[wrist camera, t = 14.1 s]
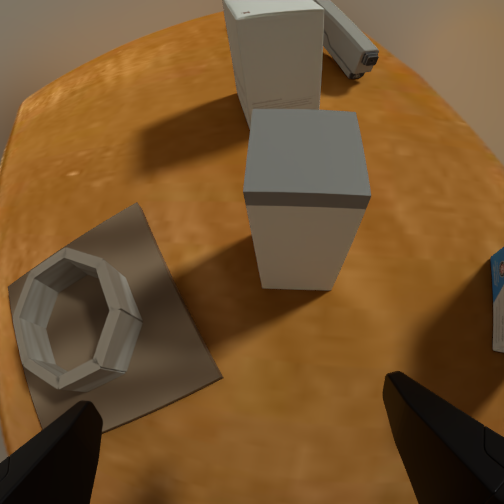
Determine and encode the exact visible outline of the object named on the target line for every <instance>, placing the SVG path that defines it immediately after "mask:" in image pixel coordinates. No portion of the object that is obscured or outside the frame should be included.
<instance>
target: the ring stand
mask: <svg viewBox="0 0 504 504" xmlns="http://www.w3.org/2000/svg"><path fill="white" fill-rule="evenodd" d="M8 291H9V299H10V305H11V312H12V318H13V324H14V329H15V334H16V339H17V344H18V348H19V353H20V357H21V361H22V365H23V369H24V373H25V376H26V380H27V383H28V387H29V390H30V393H31V397H32V400H33V403H34V406H35V409H36V412H37V415H38V418H39V420H40V423H41V426H42V428H43V429H44V428H46V427H47V426H48V425H49V424H51V423H52V422H53V421H54V420H56V419H57V418H58V417H60V416H61V415H62V414H63V413H65V412H66V411H67V410H68V409H70V408H71V407H72V406H73V405H75V404H76V403H77V402H79V401H81V400H85V401H91V402H92V403H93V404H94V405H95V407H96V409H97V410H98V412H99V413H100V415H101V417H102V419H103V428H102V434H103V433H105V432H108V431H110V430H113V429H115V428H117V427H120V426H122V425H125V424H127V423H129V422H132V421H134V420H136V419H139V418H141V417H143V416H146V415H148V414H150V413H152V412H154V411H157V410H159V409H161V408H163V407H165V406H168V405H170V404H172V403H174V402H176V401H178V400H180V399H182V398H184V397H186V396H189V395H191V394H193V393H195V392H197V391H199V390H201V389H203V388H205V387H207V386H209V385H211V384H213V383H214V382H216V381H218V380H220V379H222V378H223V376H222V374H221V372H220V371H219V369H218V367H217V365H216V363H215V361H214V359H213V358H212V356H211V354H210V352H209V350H208V348H207V346H206V344H205V343H204V341H203V339H202V337H201V335H200V333H199V331H198V329H197V327H196V325H195V323H194V321H193V319H192V317H191V315H190V313H189V311H188V309H187V307H186V305H185V303H184V301H183V299H182V297H181V295H180V293H179V291H178V289H177V287H176V284H175V282H174V280H173V278H172V276H171V274H170V272H169V269H168V267H167V265H166V263H165V261H164V259H163V256H162V254H161V252H160V250H159V247H158V245H157V243H156V241H155V238H154V236H153V234H152V232H151V229H150V227H149V225H148V222H147V220H146V217H145V215H144V213H143V210H142V209H141V207H140V206H139V204H138V203H135V204H133V205H131V206H130V207H128V208H126V209H124V210H123V211H121V212H119V213H118V214H116V215H114V216H113V217H111V218H109V219H108V220H106V221H104V222H103V223H101V224H99V225H98V226H96V227H95V228H93V229H91V230H90V231H88V232H87V233H85V234H83V235H82V236H80V237H79V238H77V239H76V240H74V241H73V242H71V243H69V244H68V245H66V246H65V247H63V248H62V249H60V250H59V251H57V252H56V253H54V254H53V255H52V256H50V257H49V258H47V259H46V260H44V261H43V262H41V263H40V264H38V265H37V266H36V267H34V268H33V269H31V270H30V271H29V272H27V273H26V274H24V275H23V276H22V277H20V278H19V279H18V280H16V281H15V282H14V283H12V284H11V285H10V286H8Z"/></svg>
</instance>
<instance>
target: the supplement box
mask: <svg viewBox="0 0 504 504" xmlns="http://www.w3.org/2000/svg"><path fill="white" fill-rule="evenodd" d="M222 1H223V9H224V16H225V22H226V27H227V33H228V39H229V45H230V51H231V57H232V63H233V69H234V75H235V82H236V89H237V94H238V97H239V100H240V103H241V106H242V109H243V111H244V114H245V117H246V120H247V123H248V126H249V129H250V127H251V119H252V111H253V109H310V110H319V105H320V91H321V75H322V55H323V32H324V9H323V8H322V7H321V6H320V5H318V4H317V3H316V2H314V1H313V0H222Z"/></svg>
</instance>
